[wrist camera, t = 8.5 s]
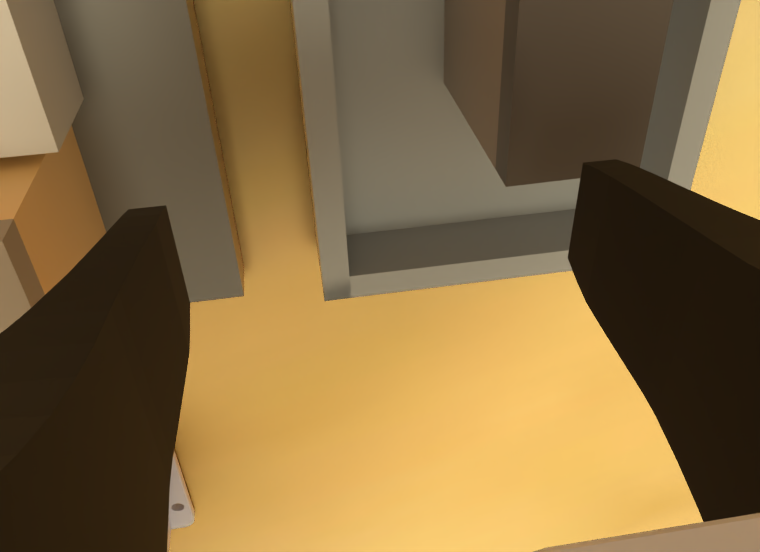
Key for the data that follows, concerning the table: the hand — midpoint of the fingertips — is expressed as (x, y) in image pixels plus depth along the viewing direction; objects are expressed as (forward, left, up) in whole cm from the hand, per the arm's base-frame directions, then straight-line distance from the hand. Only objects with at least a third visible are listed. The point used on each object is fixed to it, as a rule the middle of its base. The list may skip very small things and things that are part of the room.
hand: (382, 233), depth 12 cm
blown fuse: (+2, -5, -9) cm, 10 cm away
